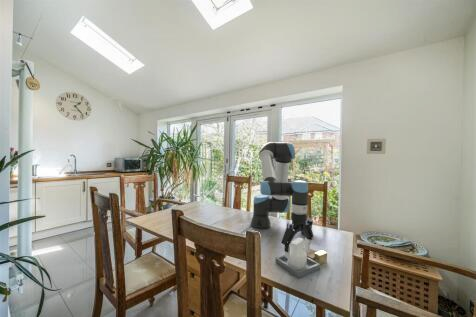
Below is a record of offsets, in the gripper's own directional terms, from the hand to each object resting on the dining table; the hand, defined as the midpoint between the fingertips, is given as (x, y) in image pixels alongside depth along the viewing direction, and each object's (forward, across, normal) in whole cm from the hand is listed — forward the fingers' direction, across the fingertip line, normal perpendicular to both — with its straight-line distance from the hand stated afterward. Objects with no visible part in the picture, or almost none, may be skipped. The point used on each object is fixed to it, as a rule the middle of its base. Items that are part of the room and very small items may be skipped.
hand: (297, 254), depth 100 cm
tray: (+6, 0, 0) cm, 6 cm away
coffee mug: (+6, +36, +26) cm, 45 cm away
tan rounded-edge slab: (+6, +14, +4) cm, 15 cm away
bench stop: (+6, +14, -4) cm, 15 cm away
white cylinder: (+5, 0, 0) cm, 5 cm away
